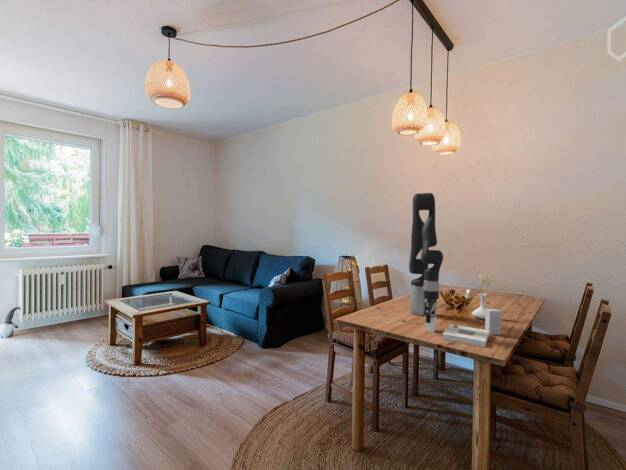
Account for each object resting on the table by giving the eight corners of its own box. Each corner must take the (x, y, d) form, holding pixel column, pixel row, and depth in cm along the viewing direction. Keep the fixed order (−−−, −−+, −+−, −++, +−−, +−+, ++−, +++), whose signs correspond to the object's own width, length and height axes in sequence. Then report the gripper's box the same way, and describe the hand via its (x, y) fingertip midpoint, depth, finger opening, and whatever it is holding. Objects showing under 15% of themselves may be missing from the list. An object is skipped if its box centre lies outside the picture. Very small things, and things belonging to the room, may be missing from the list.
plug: (427, 328, 173) (427, 312, 173) (436, 330, 171) (436, 313, 171) (424, 330, 170) (425, 314, 169) (433, 332, 167) (434, 315, 167)
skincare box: (496, 332, 169) (496, 308, 168) (501, 335, 164) (502, 311, 164) (484, 332, 168) (485, 308, 168) (489, 335, 164) (489, 311, 164)
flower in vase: (496, 321, 187) (498, 277, 186) (474, 319, 190) (476, 276, 189) (489, 314, 200) (490, 273, 199) (468, 313, 202) (470, 272, 201)
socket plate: (450, 329, 173) (450, 323, 172) (489, 335, 163) (489, 329, 163) (442, 339, 158) (442, 332, 157) (484, 347, 148) (485, 340, 148)
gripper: (427, 286, 177) (426, 316, 178) (419, 290, 165) (418, 322, 166) (442, 288, 173) (441, 319, 174) (435, 292, 161) (434, 325, 162)
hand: (430, 320), depth 170 cm, fingers open, 8 cm apart
